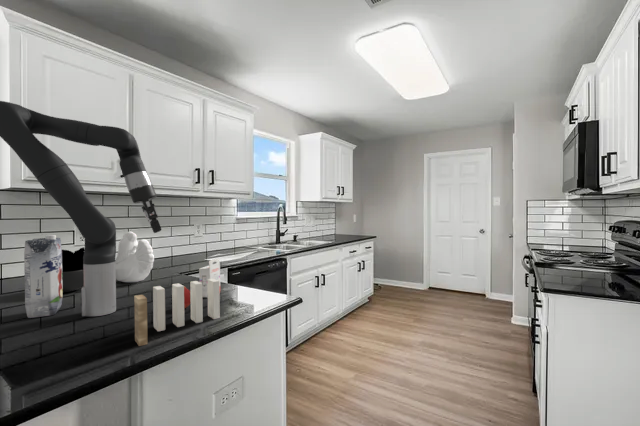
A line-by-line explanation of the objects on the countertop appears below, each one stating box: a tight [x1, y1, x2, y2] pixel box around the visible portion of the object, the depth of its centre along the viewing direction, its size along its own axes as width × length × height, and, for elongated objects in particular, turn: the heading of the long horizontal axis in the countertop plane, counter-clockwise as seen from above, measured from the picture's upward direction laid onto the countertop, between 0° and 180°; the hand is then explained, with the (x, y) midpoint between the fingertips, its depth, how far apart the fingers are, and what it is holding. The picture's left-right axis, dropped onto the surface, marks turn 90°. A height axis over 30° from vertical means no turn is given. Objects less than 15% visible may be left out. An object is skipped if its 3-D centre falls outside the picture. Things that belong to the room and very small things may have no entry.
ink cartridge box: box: [198, 258, 221, 298], centre depth 138 cm, size 9×5×15 cm, turn 168°
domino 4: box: [207, 279, 221, 320], centre depth 109 cm, size 2×5×12 cm, turn 39°
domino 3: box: [189, 280, 204, 324], centre depth 105 cm, size 2×5×12 cm, turn 39°
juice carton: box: [23, 234, 64, 319], centre depth 114 cm, size 9×10×27 cm
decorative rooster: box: [115, 231, 155, 283], centre depth 164 cm, size 25×16×25 cm, turn 49°
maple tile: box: [133, 294, 148, 347], centre depth 88 cm, size 2×5×12 cm, turn 39°
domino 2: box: [171, 282, 185, 328], centre depth 102 cm, size 2×5×12 cm, turn 39°
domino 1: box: [152, 285, 166, 332], centre depth 99 cm, size 2×5×12 cm, turn 39°
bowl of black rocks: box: [62, 246, 85, 293], centre depth 146 cm, size 20×20×19 cm
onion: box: [183, 285, 191, 310], centre depth 119 cm, size 6×6×8 cm
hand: (157, 231), depth 115 cm, fingers open, 8 cm apart
